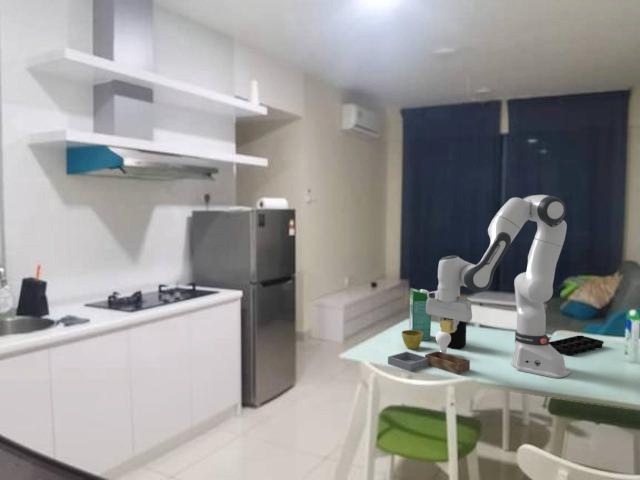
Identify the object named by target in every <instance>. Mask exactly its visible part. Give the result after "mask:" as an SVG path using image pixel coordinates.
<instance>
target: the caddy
mask: <svg viewBox="0 0 640 480" xmlns="http://www.w3.org/2000/svg"><path fill="white" fill-rule="evenodd" d="M424 357H426V358H429V366H430V367H432V368H436V369H439V370H442V371H445V372H448V373H452V374H455V375H461V374H463V373H466V372H469V371H470V369H471V360H470V359H466V358H464V357H460V356H457V355H453V354H449V353H447V352H446V353H442V352H440V350H439V351H438V350H437V351H432V352H430V353H426V354H424Z"/></svg>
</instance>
